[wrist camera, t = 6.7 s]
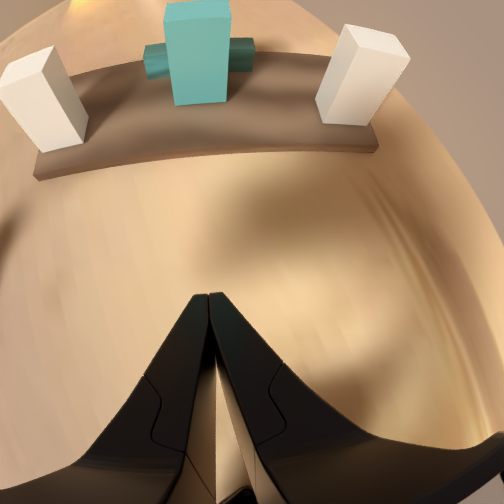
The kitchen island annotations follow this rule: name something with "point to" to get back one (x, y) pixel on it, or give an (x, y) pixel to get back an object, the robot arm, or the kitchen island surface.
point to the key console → (202, 113)
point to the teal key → (198, 50)
